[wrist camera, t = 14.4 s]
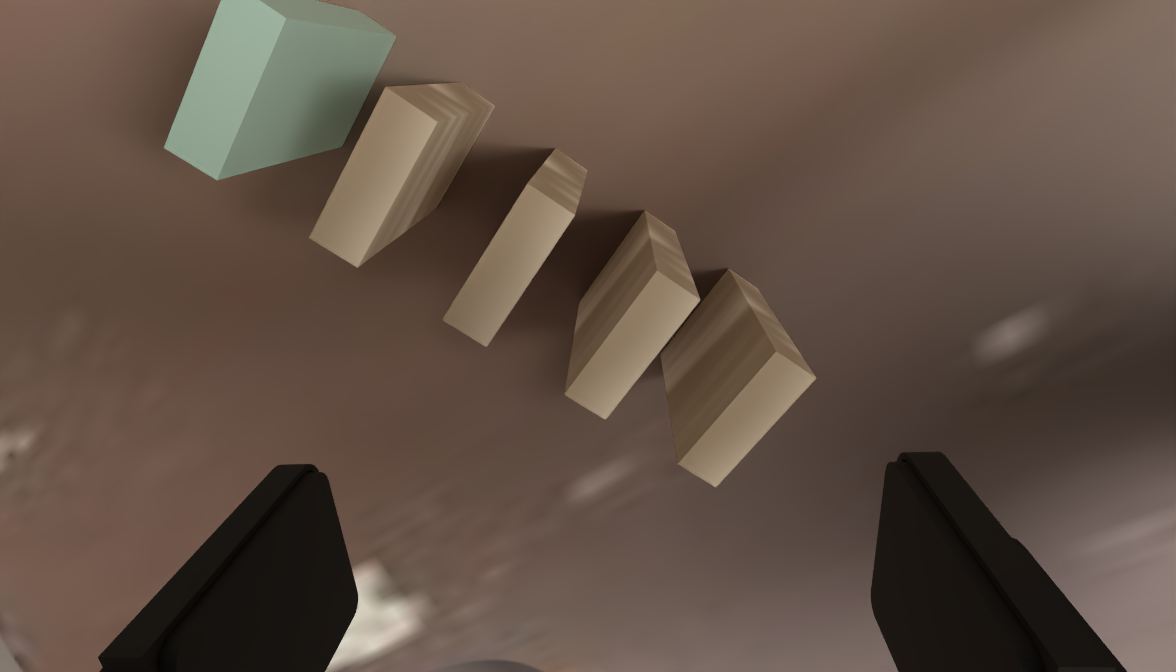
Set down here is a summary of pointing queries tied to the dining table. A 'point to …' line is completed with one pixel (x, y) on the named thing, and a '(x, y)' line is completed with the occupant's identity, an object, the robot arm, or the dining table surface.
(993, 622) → the robot arm
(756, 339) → the domino
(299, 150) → the domino
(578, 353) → the domino
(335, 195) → the domino
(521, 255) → the domino
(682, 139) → the dining table surface
